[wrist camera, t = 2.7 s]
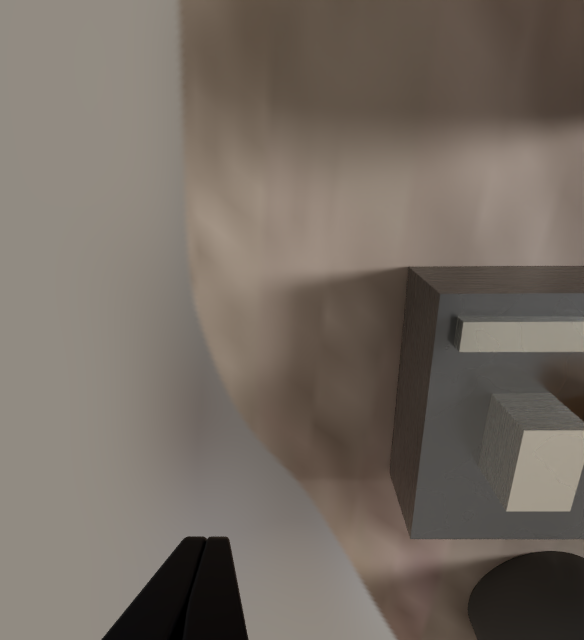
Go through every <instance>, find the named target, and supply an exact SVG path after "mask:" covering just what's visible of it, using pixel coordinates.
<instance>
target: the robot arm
mask: <svg viewBox="0 0 584 640" xmlns="http://www.w3.org/2000/svg"><path fill="white" fill-rule="evenodd" d="M102 640H248V635H247V630H246V625H245V619H244V614H243V609H242V604H241V599H240V593H239V588H238V583H237V578H236V572H235V567H234V562H233V557H232V551H231V546H230V542H229V539H228V537H209V538H208V539H206V538H205V537H186V538H184V539H183V540H182V541H181V543H180V544H179V545H178V546H177V547H176V549H175V550H174V551H173V552H172V554H171V555H170V556H169V557H168V559H167V560H166V561H165V562H164V564H163V565H162V566H161V567H160V568H159V570H158V571H157V572H156V573H155V575H154V576H153V577H152V578H151V580H150V581H149V582H148V583H147V585H146V586H145V587H144V588H143V589H142V591H141V592H140V593H139V594H138V596H137V597H136V598H135V599H134V600H133V602H132V603H131V604H130V606H129V607H128V608H127V609H126V610H125V611H124V613H123V614H122V615H121V616H120V618H119V619H118V620H117V621H116V622H115V624H114V625H113V626H112V627H111V629H110V630H109V631H108V632H107V634H106V635H105V636H104V637H103V638H102Z"/></svg>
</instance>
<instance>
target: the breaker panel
mask: <svg viewBox="0 0 584 640" xmlns="http://www.w3.org/2000/svg"><path fill="white" fill-rule="evenodd" d="M390 476H391V479H392V482H393V485H394V488H395V492H396V495H397V498H398V501H399V504H400V508H401V511H402V514H403V517H404V520H405V524H406V527H407V530H408V533H409V536H410V539H584V266H490V267H409V270H408V281H407V292H406V303H405V313H404V324H403V335H402V346H401V356H400V367H399V378H398V389H397V399H396V410H395V421H394V432H393V442H392V453H391V464H390Z"/></svg>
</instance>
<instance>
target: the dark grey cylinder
mask: <svg viewBox="0 0 584 640" xmlns="http://www.w3.org/2000/svg"><path fill="white" fill-rule="evenodd" d="M468 615H469V619H470V622H471V624H472V627H473V629H474V632H475V634H476V637H477V640H584V558H583V557H580V556H578V555H574V554H570V553H564V552H552V551H551V552H538V553H531V554H527V555H523V556H520V557H517V558H514V559H511V560H509V561H507V562H505V563H503V564H501V565H499V566H498V567H496V568H494V569H493V570H492V571H490V572H489V573H488V574H487V575H485V576H484V577H483V578H482V579H481V580H480V582H479V583H478V584H477V585H476V587H475V588H474V590H473V592H472V594H471V596H470V599H469V603H468Z"/></svg>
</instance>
